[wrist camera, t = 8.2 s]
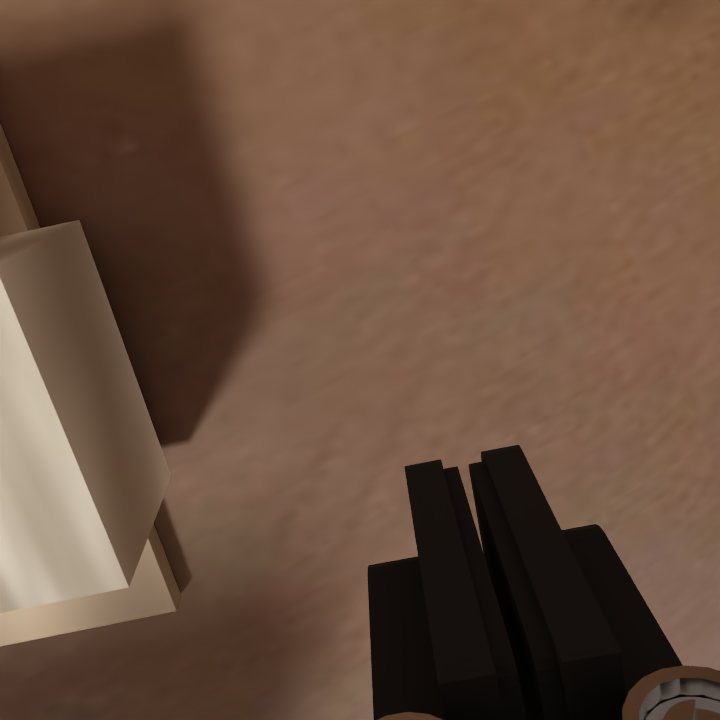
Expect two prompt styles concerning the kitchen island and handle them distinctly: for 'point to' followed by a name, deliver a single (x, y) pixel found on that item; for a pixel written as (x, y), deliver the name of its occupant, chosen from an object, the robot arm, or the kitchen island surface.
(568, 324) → the kitchen island surface
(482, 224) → the kitchen island surface
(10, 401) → the birch block
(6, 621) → the wooden board
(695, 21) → the kitchen island surface
